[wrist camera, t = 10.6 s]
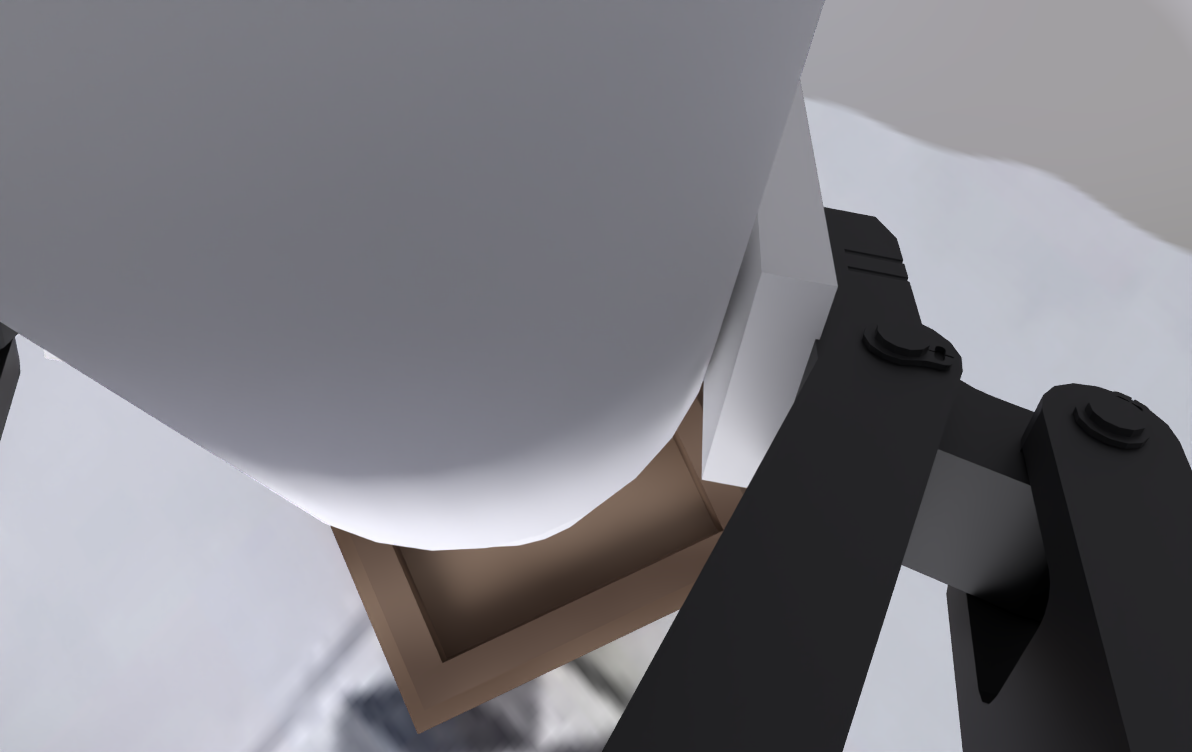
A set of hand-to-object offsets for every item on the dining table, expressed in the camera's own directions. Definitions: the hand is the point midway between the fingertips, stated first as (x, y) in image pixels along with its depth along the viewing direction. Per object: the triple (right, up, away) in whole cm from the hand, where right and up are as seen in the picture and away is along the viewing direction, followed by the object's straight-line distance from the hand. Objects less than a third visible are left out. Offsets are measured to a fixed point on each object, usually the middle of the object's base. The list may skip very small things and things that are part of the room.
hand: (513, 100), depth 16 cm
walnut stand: (-2, -8, +25) cm, 26 cm away
